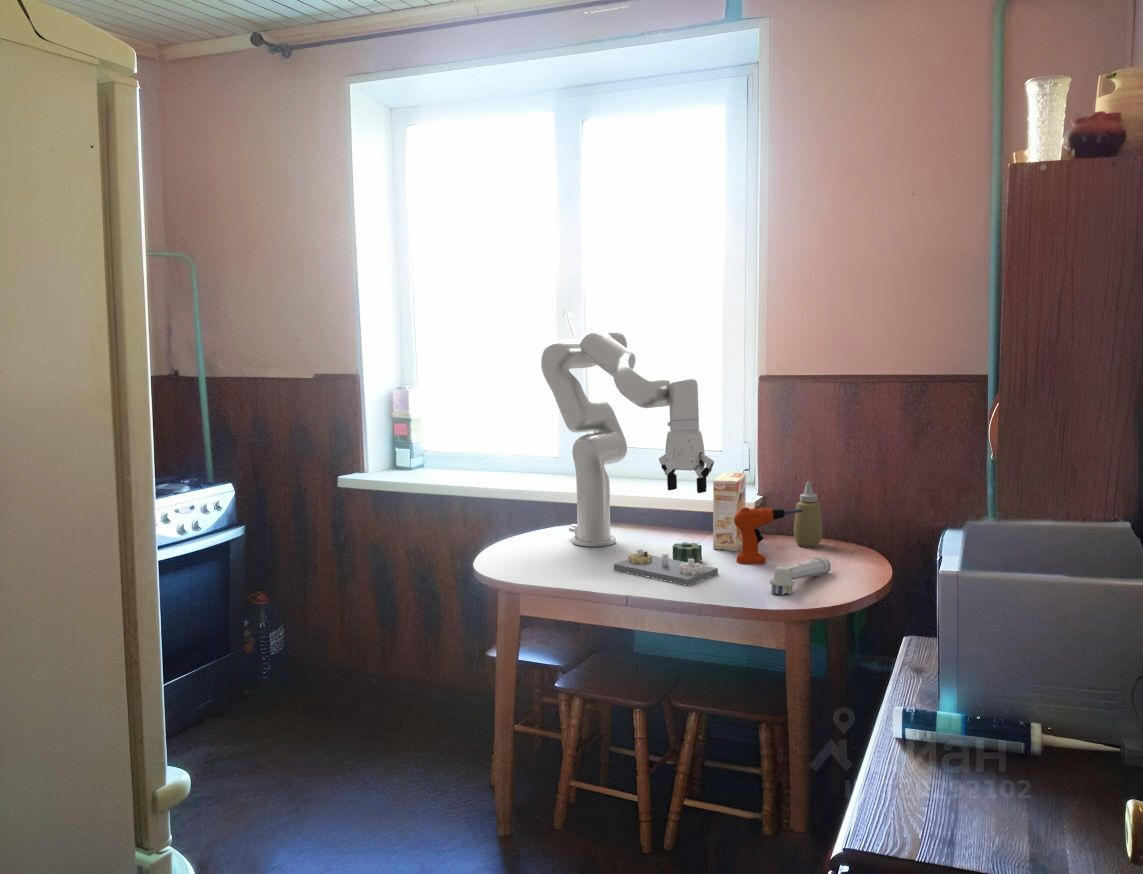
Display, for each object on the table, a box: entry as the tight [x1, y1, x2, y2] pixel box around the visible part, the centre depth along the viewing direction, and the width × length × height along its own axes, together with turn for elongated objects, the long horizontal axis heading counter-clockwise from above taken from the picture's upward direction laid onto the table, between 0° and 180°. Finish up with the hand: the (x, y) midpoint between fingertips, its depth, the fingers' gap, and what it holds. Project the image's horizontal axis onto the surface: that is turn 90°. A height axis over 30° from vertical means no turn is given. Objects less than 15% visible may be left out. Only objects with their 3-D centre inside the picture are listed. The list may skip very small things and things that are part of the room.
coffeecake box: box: [712, 472, 747, 552], centre depth 251 cm, size 15×7×20 cm, turn 160°
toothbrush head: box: [769, 557, 831, 595], centre depth 212 cm, size 5×7×25 cm
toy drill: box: [734, 506, 803, 565], centre depth 232 cm, size 5×19×15 cm, turn 91°
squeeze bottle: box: [793, 481, 824, 548], centre depth 248 cm, size 8×8×18 cm
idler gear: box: [672, 542, 703, 563], centre depth 235 cm, size 8×8×4 cm
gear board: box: [613, 548, 719, 586], centre depth 224 cm, size 23×13×4 cm, turn 48°
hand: (686, 491), depth 233 cm, fingers open, 9 cm apart
